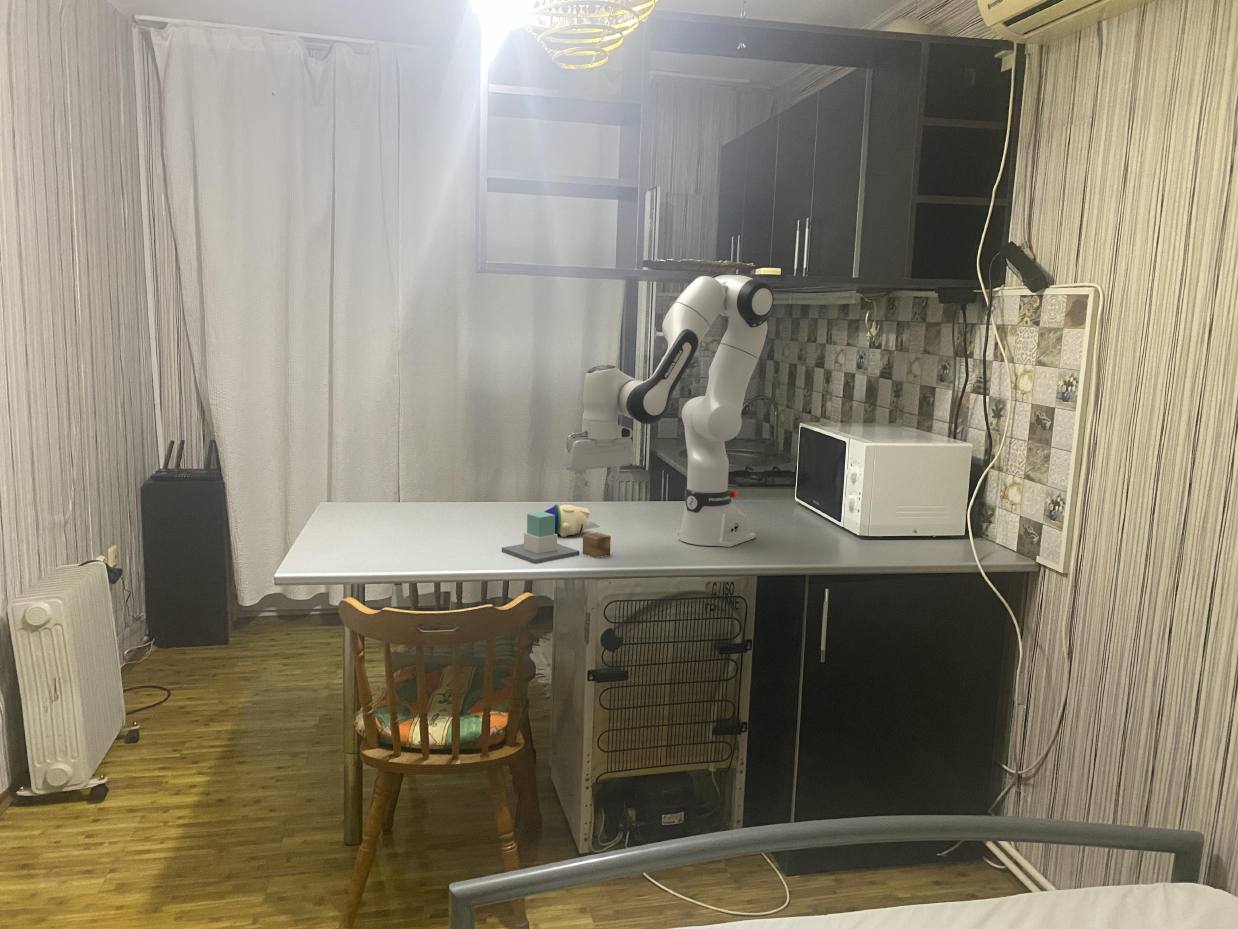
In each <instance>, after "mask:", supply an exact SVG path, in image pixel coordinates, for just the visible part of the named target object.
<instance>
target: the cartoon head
mask: <svg viewBox="0 0 1238 929" xmlns="http://www.w3.org/2000/svg"><path fill="white" fill-rule="evenodd" d="M543 512H546V513H549V514H553V515H555V534H557V536H558V535H559V536H560V537H562V538H566V537H568V536H574V535H576V534H579V533H580V534H581V533H582V532H583V531H584V530H589V529H596V528H597V529H598V528H600V527H601V526H600V525H599V524H597V523H595V522H593V521H592V520H591V519H589V517H590V513H591V512H590V510H589V508H587V507H581V506H576V505H572V504H562V505H559V504H554V505H553V506H552V507H550V508H548V509H546V510H544V511H543Z"/></svg>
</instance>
